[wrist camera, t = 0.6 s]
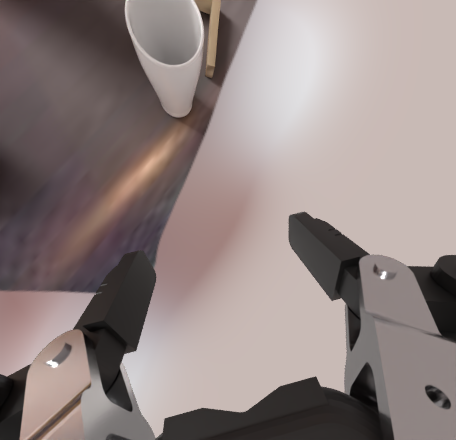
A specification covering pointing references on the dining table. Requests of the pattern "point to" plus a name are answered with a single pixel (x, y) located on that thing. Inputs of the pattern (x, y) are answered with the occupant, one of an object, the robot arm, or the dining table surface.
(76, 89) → the dining table surface
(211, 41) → the oak dock
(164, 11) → the drinking glass
